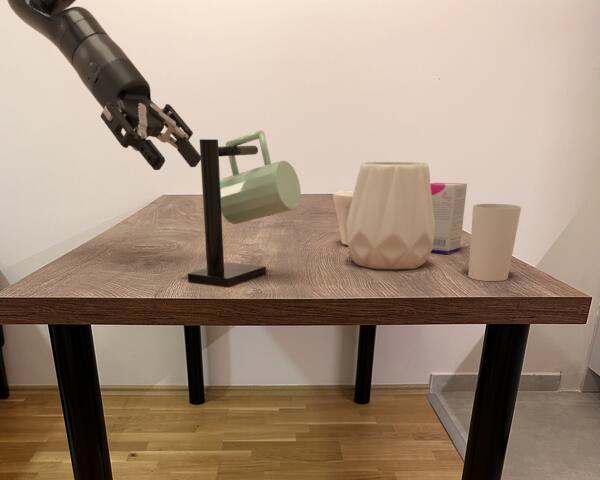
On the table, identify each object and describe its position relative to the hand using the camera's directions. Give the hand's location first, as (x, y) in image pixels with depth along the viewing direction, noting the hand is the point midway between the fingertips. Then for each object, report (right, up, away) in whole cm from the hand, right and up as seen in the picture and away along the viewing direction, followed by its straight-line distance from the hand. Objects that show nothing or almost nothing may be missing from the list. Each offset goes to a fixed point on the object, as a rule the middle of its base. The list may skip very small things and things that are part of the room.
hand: (179, 164), depth 94 cm
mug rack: (+8, -16, +1) cm, 18 cm away
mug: (+16, -4, -8) cm, 18 cm away
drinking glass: (+46, -17, +1) cm, 49 cm away
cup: (+29, -4, +27) cm, 40 cm away
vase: (+32, -12, +10) cm, 36 cm away
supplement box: (+43, -7, +21) cm, 49 cm away
